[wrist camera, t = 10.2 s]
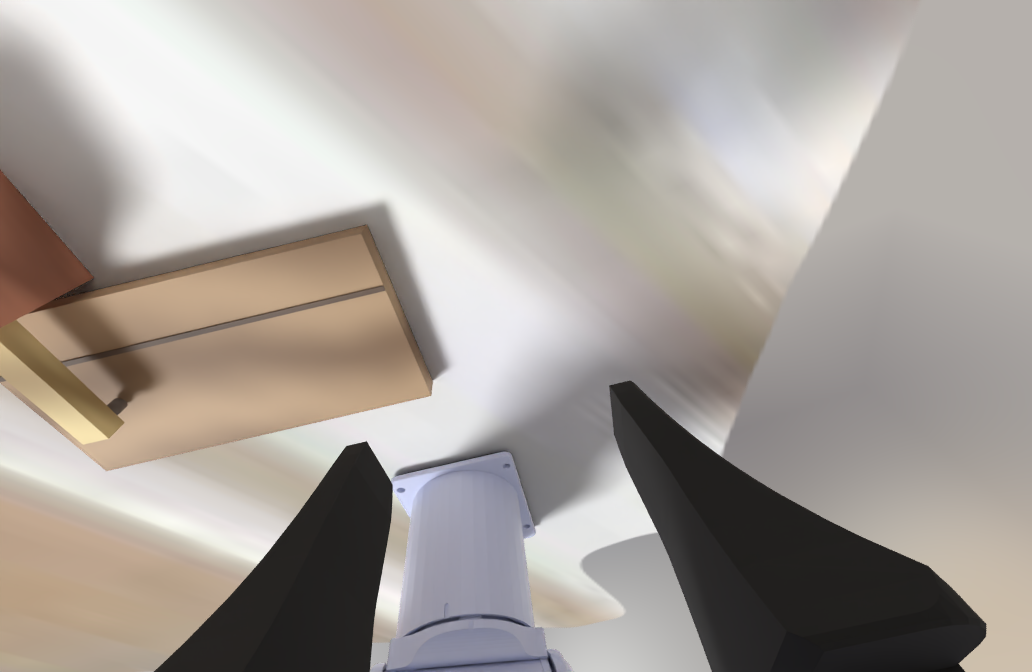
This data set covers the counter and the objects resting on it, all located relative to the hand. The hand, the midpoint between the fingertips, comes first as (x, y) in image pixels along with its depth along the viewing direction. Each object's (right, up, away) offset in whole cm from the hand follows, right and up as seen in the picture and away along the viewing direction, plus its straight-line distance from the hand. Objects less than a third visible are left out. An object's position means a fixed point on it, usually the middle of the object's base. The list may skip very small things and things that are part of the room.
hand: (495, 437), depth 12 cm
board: (-14, +2, +8) cm, 16 cm away
